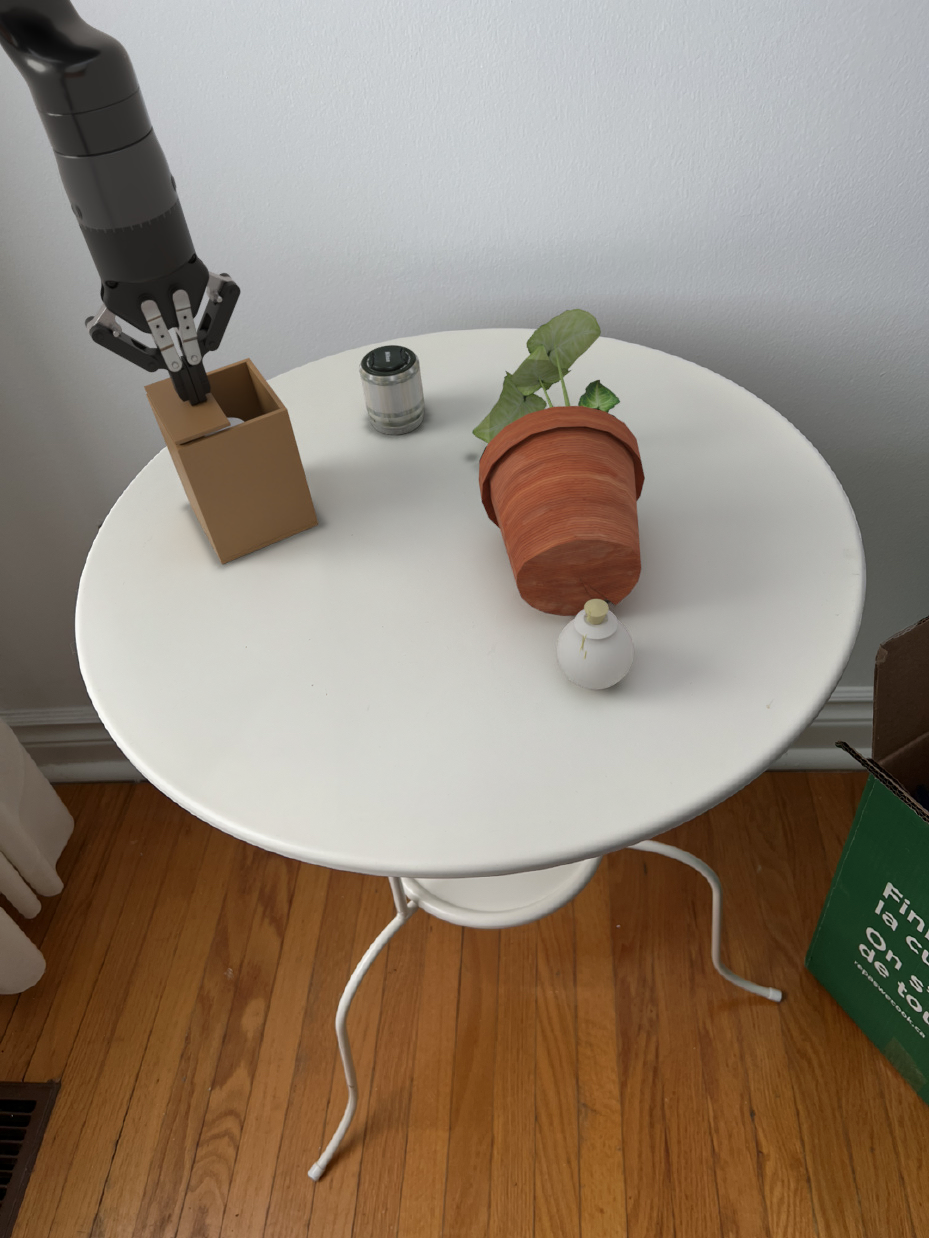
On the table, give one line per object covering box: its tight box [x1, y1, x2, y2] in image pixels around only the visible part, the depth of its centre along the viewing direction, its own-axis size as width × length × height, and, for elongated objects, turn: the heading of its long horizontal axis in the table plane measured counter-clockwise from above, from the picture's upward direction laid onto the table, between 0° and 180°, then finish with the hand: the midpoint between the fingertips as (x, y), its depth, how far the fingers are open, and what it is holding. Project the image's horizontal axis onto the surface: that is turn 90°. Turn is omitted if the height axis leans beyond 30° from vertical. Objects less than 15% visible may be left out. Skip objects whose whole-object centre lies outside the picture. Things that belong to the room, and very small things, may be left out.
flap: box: [143, 377, 231, 446], centre depth 80 cm, size 5×10×1 cm, turn 29°
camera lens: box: [358, 344, 425, 436], centre depth 97 cm, size 6×6×8 cm
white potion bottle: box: [555, 599, 635, 690], centre depth 70 cm, size 6×7×10 cm
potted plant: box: [471, 308, 646, 617], centre depth 84 cm, size 16×15×35 cm
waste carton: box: [145, 357, 319, 565], centre depth 86 cm, size 10×10×14 cm
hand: (196, 399), depth 80 cm, fingers closed
